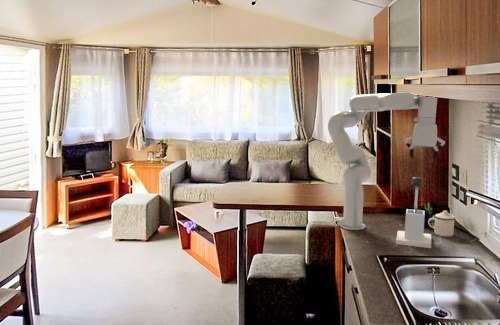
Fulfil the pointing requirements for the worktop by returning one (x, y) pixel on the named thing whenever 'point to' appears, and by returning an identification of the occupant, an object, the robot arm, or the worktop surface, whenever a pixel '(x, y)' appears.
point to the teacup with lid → (443, 224)
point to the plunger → (416, 191)
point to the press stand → (414, 231)
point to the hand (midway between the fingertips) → (423, 158)
